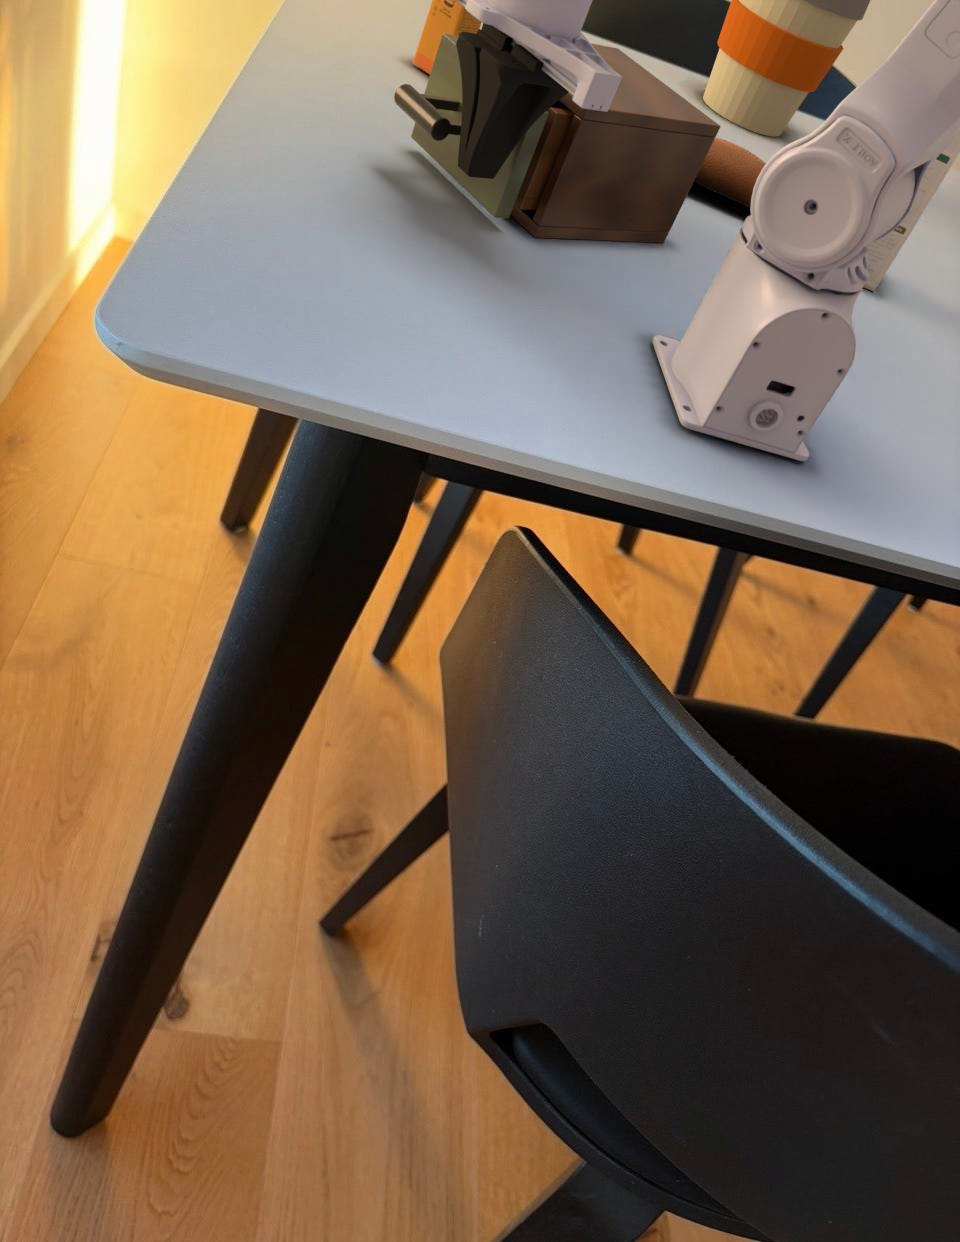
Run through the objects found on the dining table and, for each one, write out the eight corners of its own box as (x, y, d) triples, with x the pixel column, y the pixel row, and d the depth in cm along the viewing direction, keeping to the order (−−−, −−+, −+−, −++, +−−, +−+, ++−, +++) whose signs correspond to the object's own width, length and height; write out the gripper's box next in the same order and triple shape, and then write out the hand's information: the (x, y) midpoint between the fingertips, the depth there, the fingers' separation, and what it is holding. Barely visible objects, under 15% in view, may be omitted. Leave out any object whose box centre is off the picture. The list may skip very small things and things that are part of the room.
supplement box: (465, 83, 90) (509, -49, 84) (438, 83, 88) (481, -54, 81) (437, 64, 91) (478, -69, 85) (409, 63, 89) (449, -73, 82)
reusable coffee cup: (735, 136, 108) (817, -29, 98) (664, 77, 114) (735, -82, 105) (819, 152, 115) (903, 0, 105) (747, 96, 122) (820, -51, 112)
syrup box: (875, 293, 88) (990, 114, 79) (808, 263, 88) (916, 79, 79) (869, 267, 93) (977, 94, 83) (805, 239, 92) (907, 61, 83)
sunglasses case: (763, 189, 96) (800, 136, 90) (744, 253, 94) (781, 203, 87) (572, 105, 94) (596, 45, 88) (548, 168, 92) (571, 111, 86)
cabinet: (534, 237, 72) (587, 106, 67) (441, 149, 77) (483, 21, 72) (664, 243, 80) (721, 126, 74) (571, 162, 85) (617, 48, 80)
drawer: (437, 214, 67) (475, 103, 63) (354, 130, 72) (384, 22, 68) (621, 224, 77) (665, 128, 72) (536, 150, 82) (573, 56, 77)
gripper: (430, -142, 59) (361, 108, 68) (589, -29, 53) (490, 233, 61) (528, -113, 64) (452, 119, 72) (686, -5, 57) (581, 237, 65)
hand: (475, 172), depth 67 cm, fingers closed, pressing on drawer
